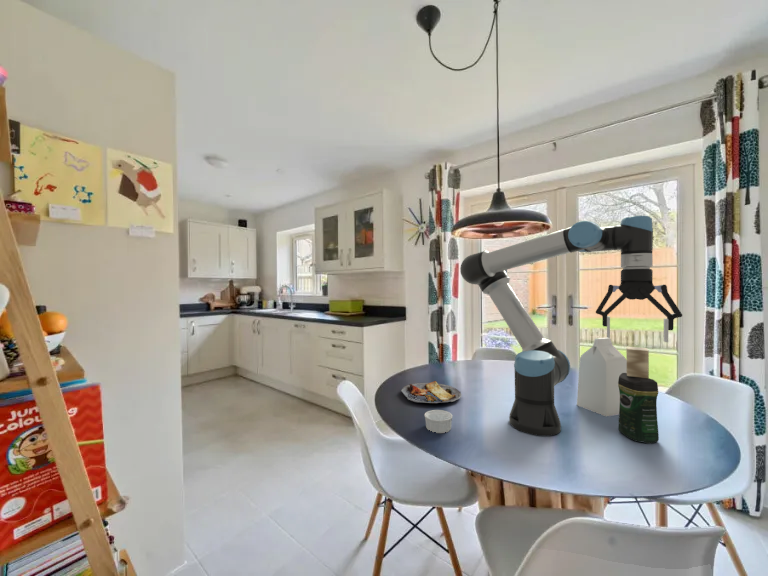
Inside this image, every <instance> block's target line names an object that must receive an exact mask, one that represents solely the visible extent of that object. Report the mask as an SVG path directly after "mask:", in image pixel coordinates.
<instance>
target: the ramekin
mask: <svg viewBox="0 0 768 576" xmlns="http://www.w3.org/2000/svg"><path fill="white" fill-rule="evenodd" d="M424 419H425V427H426V429H427V430H428V431H429V430H430V432H431V431H432V432H431V433H434V432H436V433H435V434H446V433H448V432H450V431H451V429H452V421H453V414H452V413H451V412H450V411H447V410H443V409H433V410H427V411H426V412H425V413H424ZM445 432H446V433H445Z"/></svg>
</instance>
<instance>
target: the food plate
mask: <svg viewBox="0 0 768 576" xmlns="http://www.w3.org/2000/svg"><path fill="white" fill-rule="evenodd" d="M425 389H426V390H425ZM400 391H401V393H402V394H403V396H404V397H406V398H407V400H408V401H411V402H414V403H424V404H439V403H441V404H442V403H444V404H445V403H449V402H451V403H452V402H455V401H457V400H459V399H461V398H462V393H461V391H460V390H459V389H457V388H455V387H454V386H452V385H448V384H444V383H439V382H437V381H436V380H434V381H431V382H414V383H409V384H408V385H405V386H403V387H402V388H401V390H400ZM427 392H430V393H432V394H433V395H434V396H436V397H438V398H439V399H440V400H442V402H441V401H438V400H437V399H436V398H435V397H433V396H431V395H426V394H428V393H427ZM408 394H412V395H414V396H416V397H417V396H425V397H426V399H427V401H431V402H427V401H424V400H422V401H420V400H419V399H417V400H415V399H416V398H415V399H413V398H412V397H411V398H412V399H411V398H409V397H408ZM409 396H410V395H409ZM434 401H437V402H434Z"/></svg>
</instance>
